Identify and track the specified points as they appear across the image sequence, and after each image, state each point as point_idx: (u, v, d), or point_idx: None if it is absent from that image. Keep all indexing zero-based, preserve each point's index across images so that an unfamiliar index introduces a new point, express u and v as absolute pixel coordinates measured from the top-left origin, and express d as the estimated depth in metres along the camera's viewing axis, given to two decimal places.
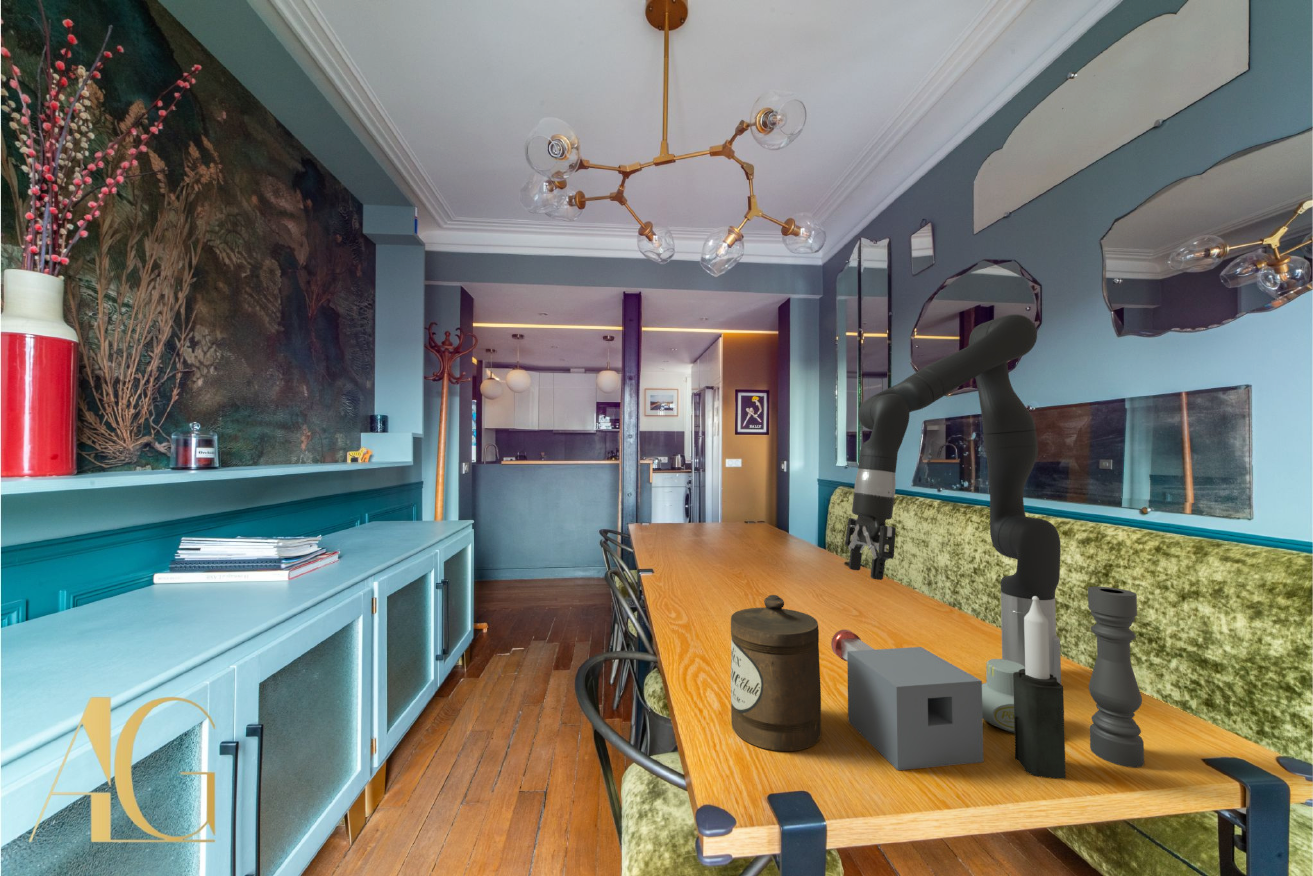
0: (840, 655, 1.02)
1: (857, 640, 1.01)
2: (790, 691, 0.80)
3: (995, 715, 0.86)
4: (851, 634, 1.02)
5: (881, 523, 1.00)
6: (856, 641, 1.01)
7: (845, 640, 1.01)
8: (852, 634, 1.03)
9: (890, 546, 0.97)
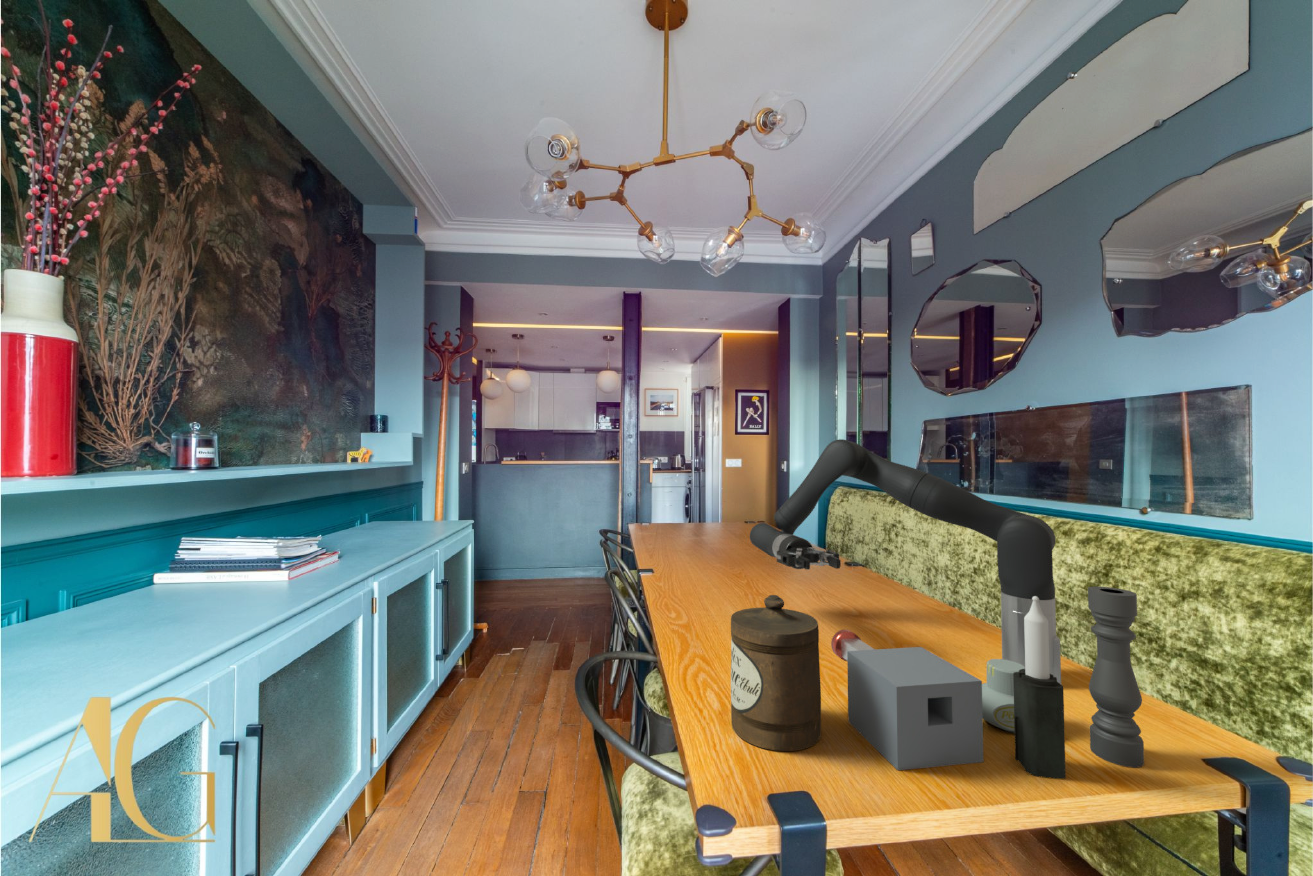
0: (840, 655, 1.02)
1: (857, 640, 1.01)
2: (790, 691, 0.80)
3: (995, 715, 0.86)
4: (851, 634, 1.02)
5: None
6: (856, 641, 1.01)
7: (845, 640, 1.01)
8: (852, 634, 1.03)
9: None
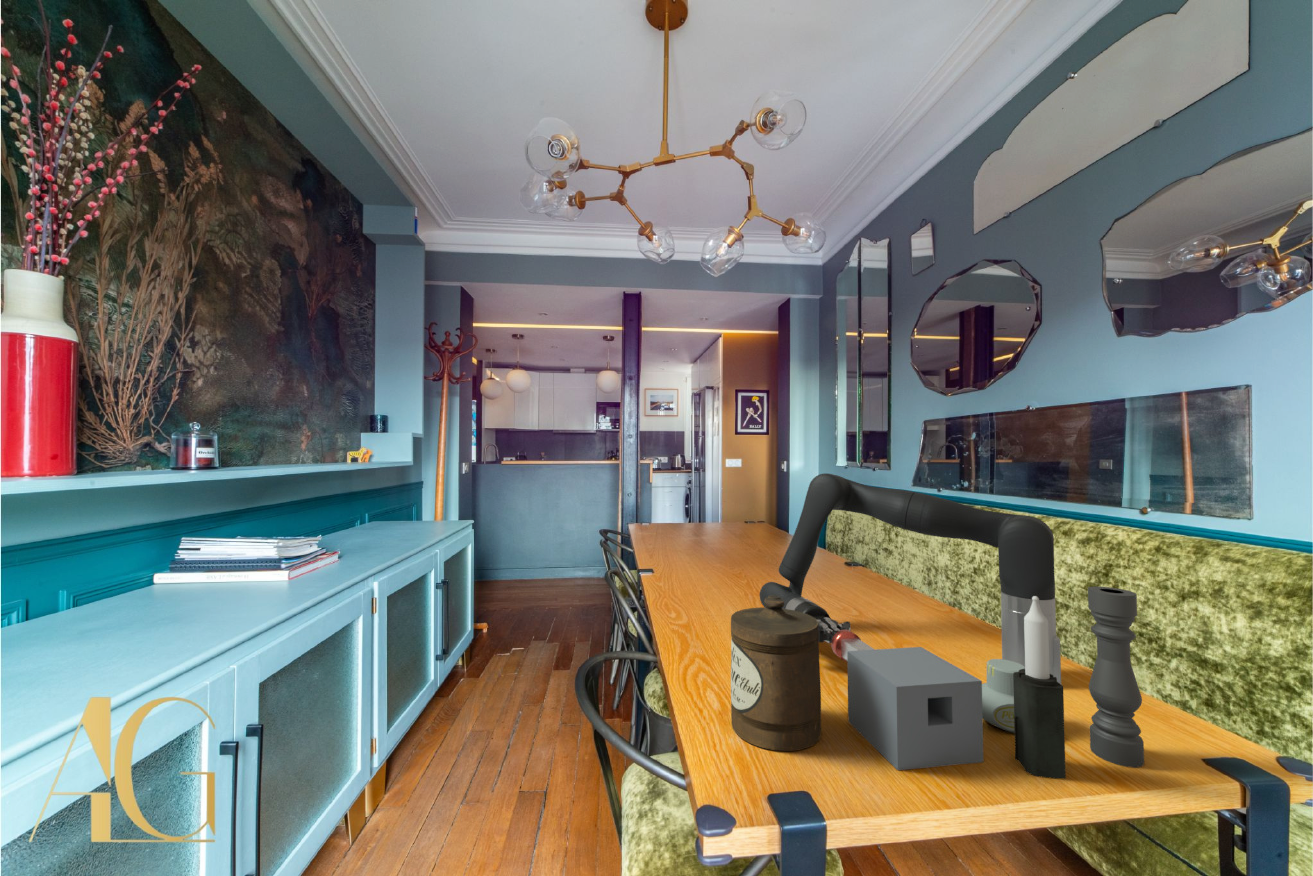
0: (840, 655, 1.02)
1: (857, 640, 1.01)
2: (790, 691, 0.80)
3: (995, 715, 0.86)
4: (851, 634, 1.02)
5: None
6: (856, 641, 1.01)
7: (845, 640, 1.01)
8: (852, 634, 1.03)
9: None
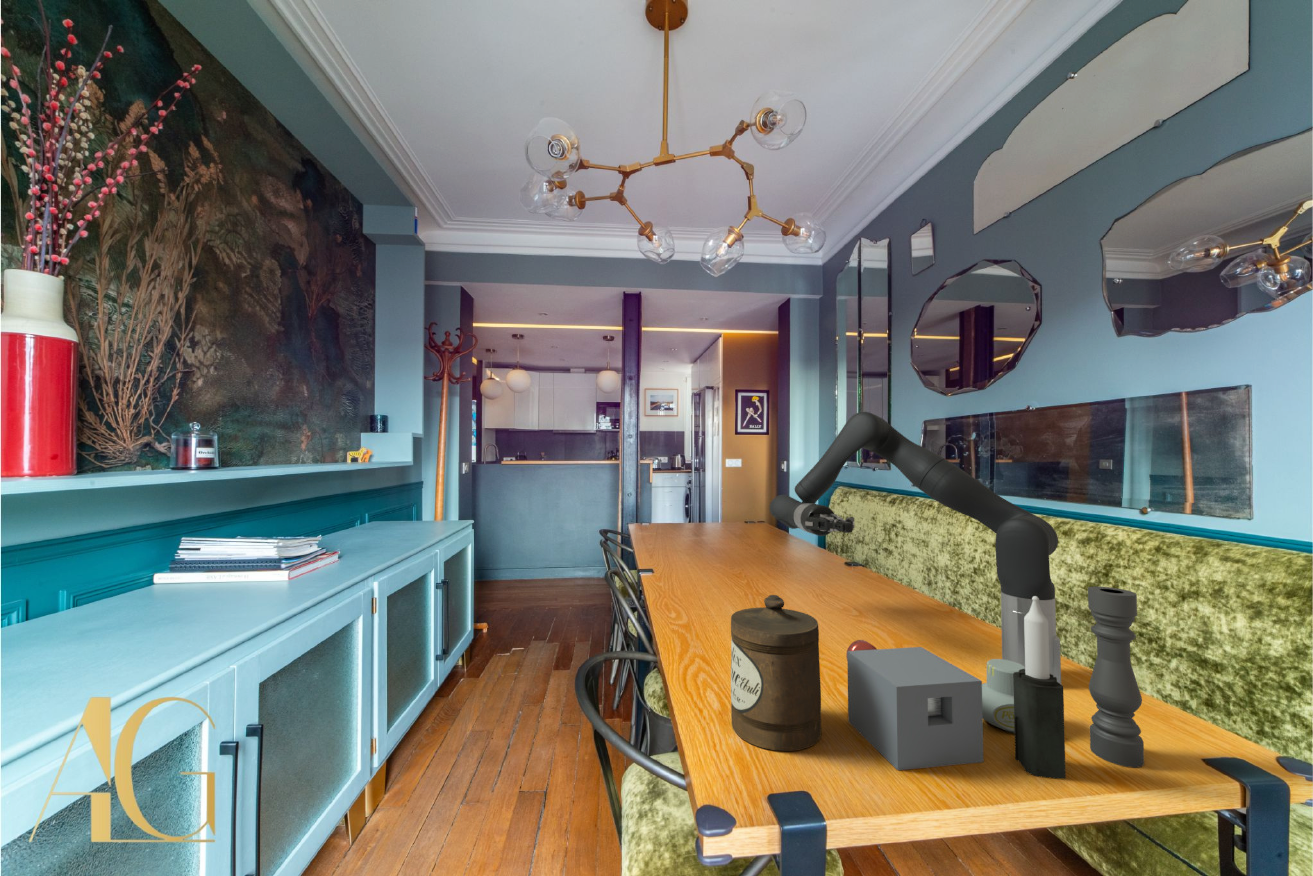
0: None
1: None
2: (790, 691, 0.80)
3: (995, 715, 0.86)
4: (868, 645, 0.97)
5: None
6: None
7: None
8: (869, 645, 0.97)
9: (820, 521, 1.20)
